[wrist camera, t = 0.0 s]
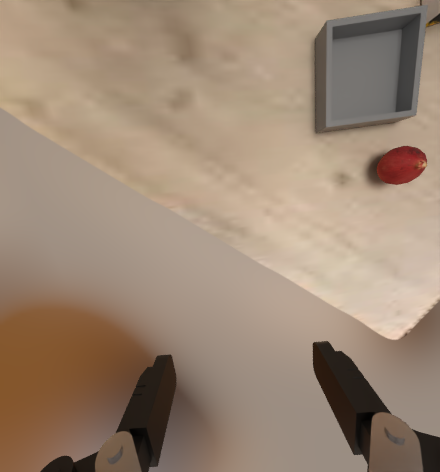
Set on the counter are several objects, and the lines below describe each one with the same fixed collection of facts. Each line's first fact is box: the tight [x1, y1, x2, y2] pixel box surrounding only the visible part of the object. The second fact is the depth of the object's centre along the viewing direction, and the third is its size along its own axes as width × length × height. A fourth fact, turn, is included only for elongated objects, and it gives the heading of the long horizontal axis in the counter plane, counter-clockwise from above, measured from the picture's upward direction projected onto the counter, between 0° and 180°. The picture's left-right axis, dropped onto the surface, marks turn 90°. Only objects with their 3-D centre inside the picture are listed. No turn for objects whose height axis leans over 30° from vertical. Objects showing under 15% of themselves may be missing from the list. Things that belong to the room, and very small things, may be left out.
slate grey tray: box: [315, 5, 428, 133], centre depth 31 cm, size 14×14×4 cm
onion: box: [377, 146, 427, 185], centre depth 32 cm, size 6×6×8 cm
